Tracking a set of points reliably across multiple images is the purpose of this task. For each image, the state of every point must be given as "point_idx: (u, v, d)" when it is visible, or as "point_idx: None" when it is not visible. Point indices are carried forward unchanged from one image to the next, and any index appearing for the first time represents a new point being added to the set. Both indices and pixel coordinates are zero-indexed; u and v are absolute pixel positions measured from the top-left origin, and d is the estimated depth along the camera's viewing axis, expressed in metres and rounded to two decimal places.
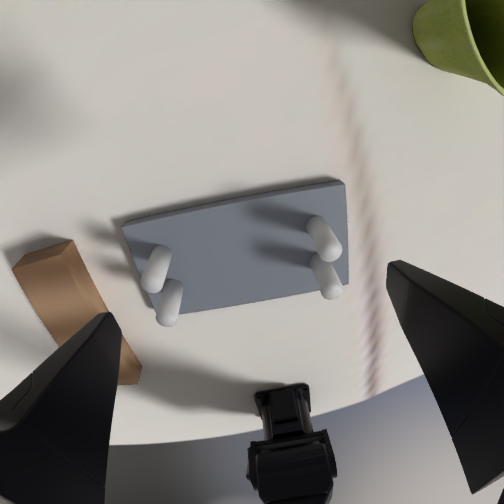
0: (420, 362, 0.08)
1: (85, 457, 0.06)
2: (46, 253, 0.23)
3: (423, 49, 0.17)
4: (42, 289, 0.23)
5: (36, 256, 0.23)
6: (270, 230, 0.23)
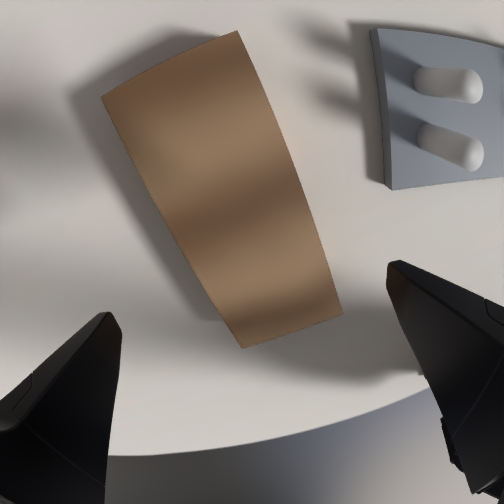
0: (420, 362, 0.08)
1: (85, 457, 0.06)
2: None
3: None
4: (174, 122, 0.12)
5: None
6: None
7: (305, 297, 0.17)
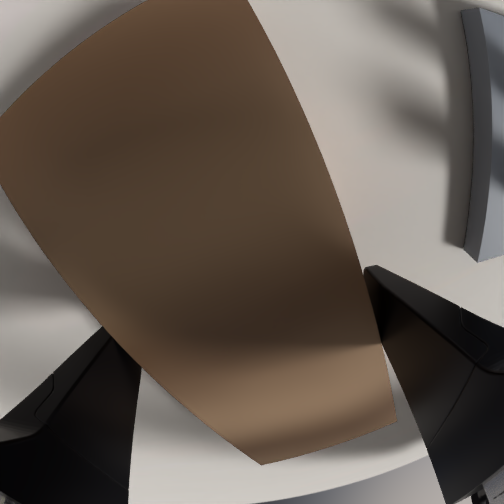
0: (395, 370, 0.08)
1: (108, 460, 0.06)
2: None
3: None
4: (103, 180, 0.06)
5: None
6: None
7: (351, 416, 0.10)
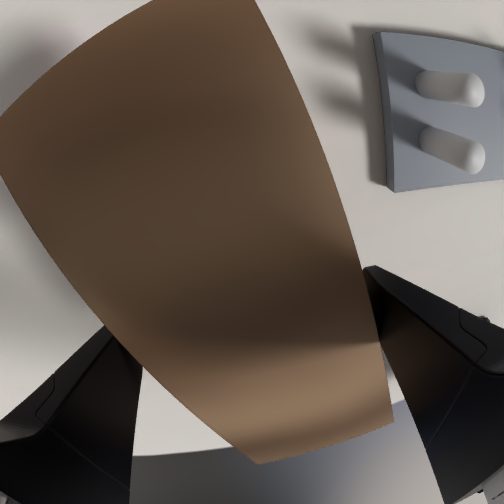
0: (394, 370, 0.08)
1: (110, 460, 0.06)
2: None
3: None
4: (108, 176, 0.06)
5: None
6: None
7: (349, 416, 0.10)
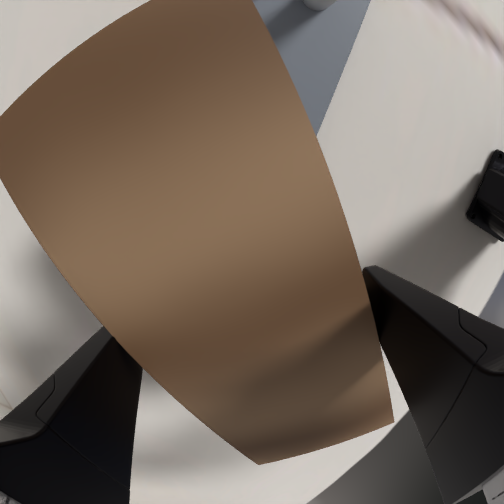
0: (394, 370, 0.08)
1: (110, 460, 0.06)
2: None
3: None
4: (105, 178, 0.06)
5: None
6: None
7: (349, 417, 0.10)
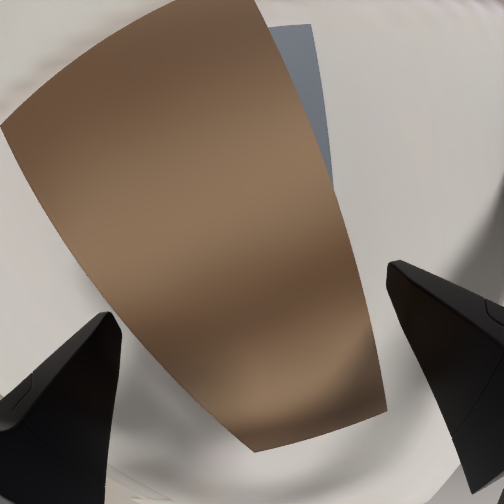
0: (420, 362, 0.08)
1: (85, 457, 0.06)
2: None
3: None
4: (120, 164, 0.06)
5: None
6: None
7: (343, 403, 0.11)
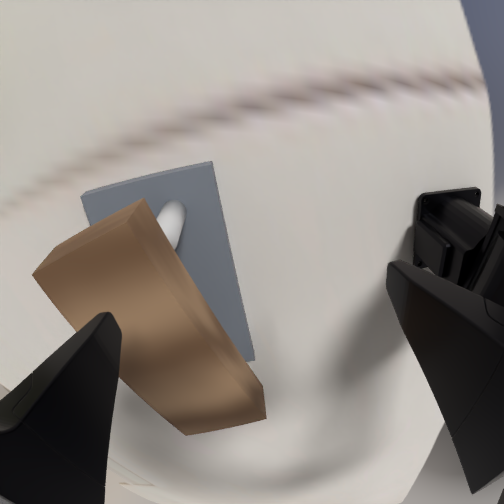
0: (420, 362, 0.08)
1: (85, 457, 0.06)
2: (93, 232, 0.13)
3: None
4: (93, 301, 0.14)
5: (74, 243, 0.14)
6: None
7: (230, 410, 0.19)
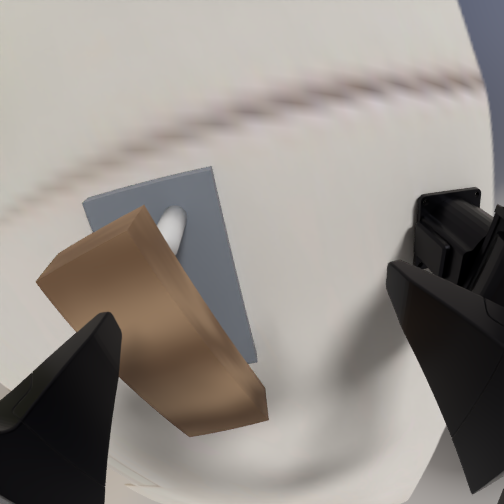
0: (420, 362, 0.08)
1: (85, 457, 0.06)
2: (95, 239, 0.14)
3: None
4: (96, 307, 0.14)
5: (77, 250, 0.14)
6: None
7: (232, 411, 0.19)
